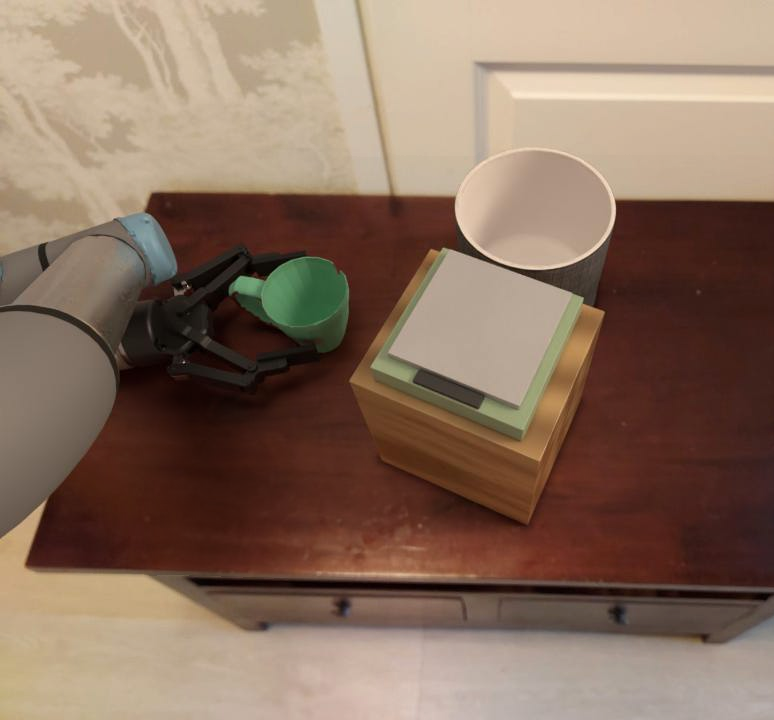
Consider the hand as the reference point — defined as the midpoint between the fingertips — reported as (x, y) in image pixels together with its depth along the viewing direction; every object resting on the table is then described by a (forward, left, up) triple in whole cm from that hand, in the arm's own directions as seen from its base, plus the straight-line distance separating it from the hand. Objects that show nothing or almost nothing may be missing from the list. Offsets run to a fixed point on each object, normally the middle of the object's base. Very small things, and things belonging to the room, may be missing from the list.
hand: (313, 303), depth 78 cm
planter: (+17, -21, -6) cm, 28 cm away
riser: (-4, -24, -6) cm, 25 cm away
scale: (-4, -24, +14) cm, 28 cm away
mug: (-1, +2, -6) cm, 7 cm away
